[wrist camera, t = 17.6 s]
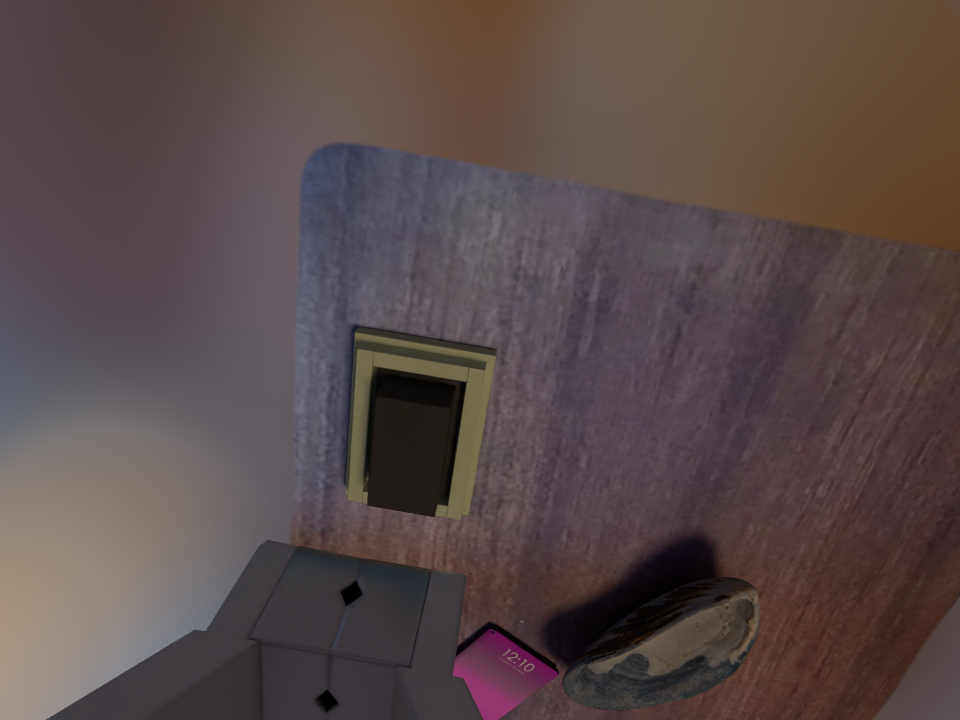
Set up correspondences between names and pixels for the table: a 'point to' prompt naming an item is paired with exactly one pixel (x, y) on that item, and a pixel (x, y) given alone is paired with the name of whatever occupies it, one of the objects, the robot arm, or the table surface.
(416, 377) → the pad
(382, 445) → the black pad
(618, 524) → the table surface
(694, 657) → the seashell
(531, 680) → the smartphone
